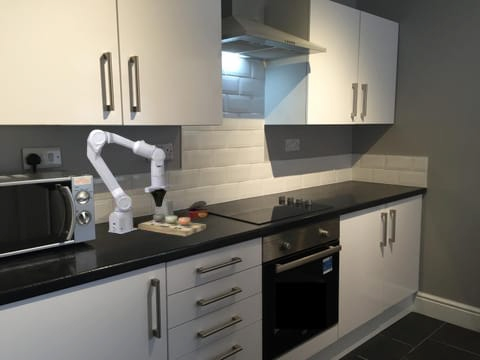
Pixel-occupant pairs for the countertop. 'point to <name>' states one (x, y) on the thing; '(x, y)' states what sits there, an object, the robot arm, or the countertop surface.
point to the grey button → (159, 217)
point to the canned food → (197, 210)
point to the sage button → (171, 219)
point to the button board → (172, 227)
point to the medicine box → (165, 208)
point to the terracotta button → (184, 220)
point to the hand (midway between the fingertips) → (158, 206)
